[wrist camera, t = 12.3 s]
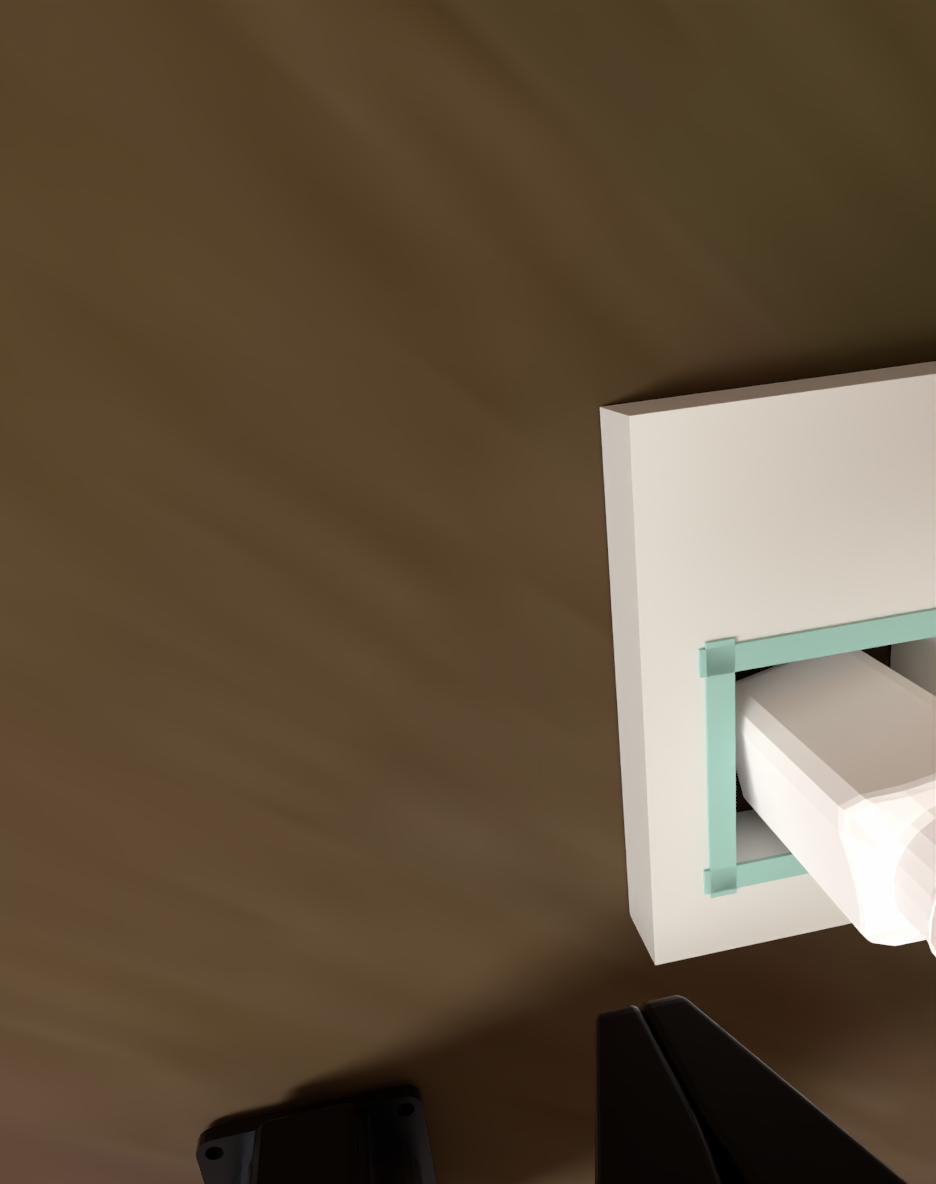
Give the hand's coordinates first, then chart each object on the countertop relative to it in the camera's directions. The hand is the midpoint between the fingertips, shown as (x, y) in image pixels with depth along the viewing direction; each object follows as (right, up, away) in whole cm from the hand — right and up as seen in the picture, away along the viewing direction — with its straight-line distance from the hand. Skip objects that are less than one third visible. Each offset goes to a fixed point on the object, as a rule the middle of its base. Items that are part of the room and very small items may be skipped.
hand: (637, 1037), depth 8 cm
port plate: (+7, +2, +14) cm, 16 cm away
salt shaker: (+7, +1, +15) cm, 17 cm away
